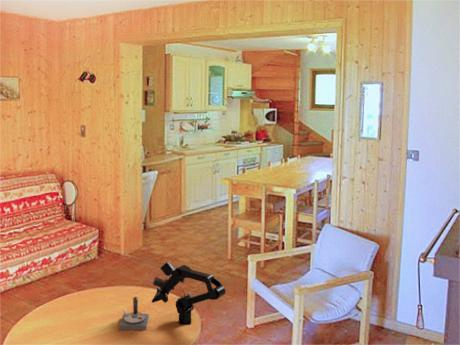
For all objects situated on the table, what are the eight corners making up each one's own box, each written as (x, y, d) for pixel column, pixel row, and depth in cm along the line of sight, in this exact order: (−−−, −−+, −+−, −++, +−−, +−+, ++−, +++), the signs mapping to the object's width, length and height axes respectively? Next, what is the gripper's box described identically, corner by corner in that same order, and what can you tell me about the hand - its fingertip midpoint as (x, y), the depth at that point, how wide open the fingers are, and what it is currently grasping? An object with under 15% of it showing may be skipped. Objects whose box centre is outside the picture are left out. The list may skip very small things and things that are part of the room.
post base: (148, 317, 283) (148, 307, 282) (145, 329, 269) (145, 318, 268) (123, 317, 282) (123, 307, 281) (119, 329, 268) (119, 318, 267)
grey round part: (146, 312, 283) (146, 295, 281) (143, 323, 270) (143, 305, 268) (126, 312, 282) (126, 295, 280) (122, 323, 270) (122, 305, 268)
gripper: (161, 267, 287) (142, 286, 287) (161, 279, 269) (141, 299, 269) (175, 279, 289) (156, 298, 290) (176, 292, 271) (156, 312, 271)
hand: (152, 301), depth 280 cm, fingers closed
